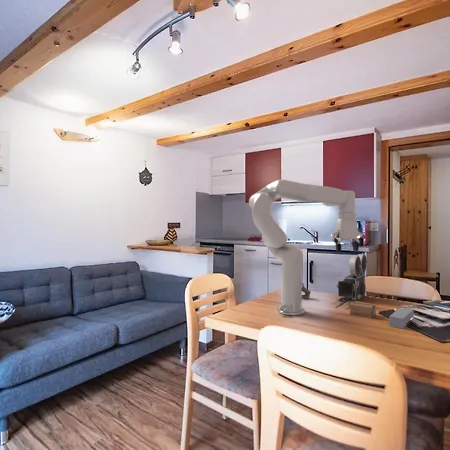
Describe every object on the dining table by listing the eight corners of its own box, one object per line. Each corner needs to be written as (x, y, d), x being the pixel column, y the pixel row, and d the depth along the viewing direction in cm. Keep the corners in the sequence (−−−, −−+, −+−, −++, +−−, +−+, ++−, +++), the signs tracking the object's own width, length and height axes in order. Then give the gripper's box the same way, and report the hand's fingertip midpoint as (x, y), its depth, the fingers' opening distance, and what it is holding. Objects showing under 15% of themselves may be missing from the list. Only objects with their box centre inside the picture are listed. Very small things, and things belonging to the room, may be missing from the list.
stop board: (403, 328, 126) (403, 318, 126) (389, 326, 129) (389, 316, 129) (413, 318, 139) (413, 309, 139) (401, 315, 142) (401, 307, 142)
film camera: (350, 291, 191) (350, 252, 191) (371, 294, 183) (371, 253, 183) (324, 306, 160) (323, 258, 160) (348, 310, 153) (347, 260, 152)
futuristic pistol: (287, 306, 179) (279, 290, 179) (312, 295, 177) (303, 278, 177) (288, 307, 176) (279, 291, 177) (312, 296, 174) (304, 279, 175)
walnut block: (370, 319, 139) (370, 307, 139) (350, 315, 145) (349, 304, 145) (375, 315, 144) (375, 304, 144) (355, 311, 150) (355, 301, 150)
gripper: (356, 216, 160) (357, 250, 161) (326, 216, 156) (327, 251, 156) (367, 215, 153) (367, 251, 153) (336, 216, 148) (336, 252, 149)
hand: (347, 251), depth 155 cm, fingers open, 9 cm apart
